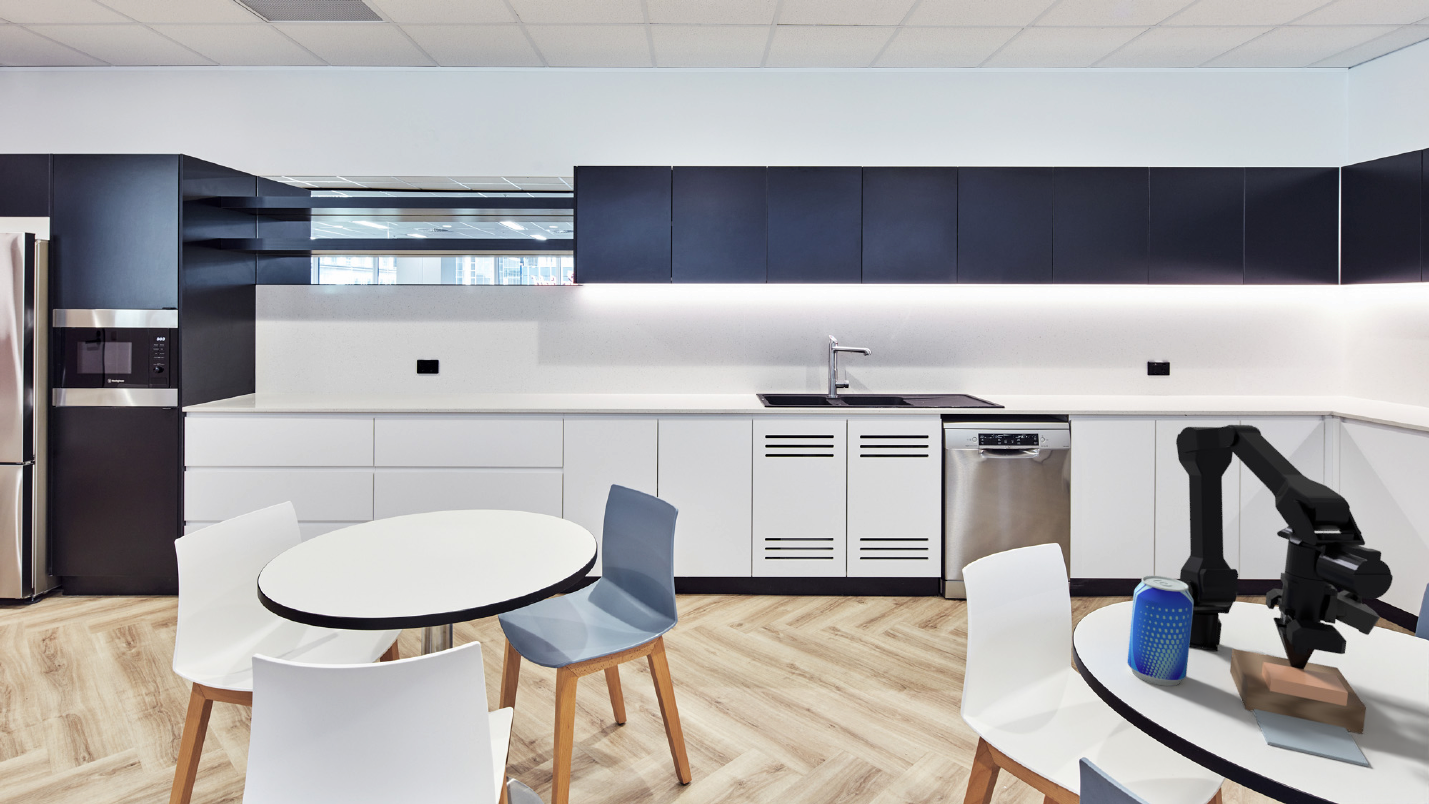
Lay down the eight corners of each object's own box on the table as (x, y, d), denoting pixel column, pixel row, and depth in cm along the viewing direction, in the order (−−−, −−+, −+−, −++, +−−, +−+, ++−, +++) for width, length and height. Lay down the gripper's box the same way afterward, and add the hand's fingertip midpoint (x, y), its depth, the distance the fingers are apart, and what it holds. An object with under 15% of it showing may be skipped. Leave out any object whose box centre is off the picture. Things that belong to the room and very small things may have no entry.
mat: (1267, 744, 105) (1267, 741, 105) (1253, 711, 114) (1253, 708, 114) (1368, 766, 101) (1368, 763, 100) (1345, 730, 109) (1345, 727, 109)
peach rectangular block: (1269, 690, 112) (1271, 678, 112) (1261, 674, 118) (1263, 661, 118) (1346, 706, 108) (1348, 692, 108) (1334, 688, 114) (1335, 675, 114)
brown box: (1245, 709, 115) (1248, 684, 114) (1229, 671, 127) (1232, 648, 127) (1362, 734, 109) (1366, 707, 108) (1334, 691, 121) (1337, 667, 121)
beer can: (1181, 670, 127) (1191, 578, 125) (1188, 693, 119) (1199, 595, 118) (1125, 660, 131) (1133, 570, 129) (1128, 680, 123) (1137, 586, 121)
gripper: (1399, 605, 103) (1385, 713, 105) (1356, 565, 119) (1344, 659, 121) (1298, 590, 108) (1286, 694, 109) (1270, 553, 124) (1260, 644, 126)
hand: (1296, 672), depth 116 cm, fingers closed
